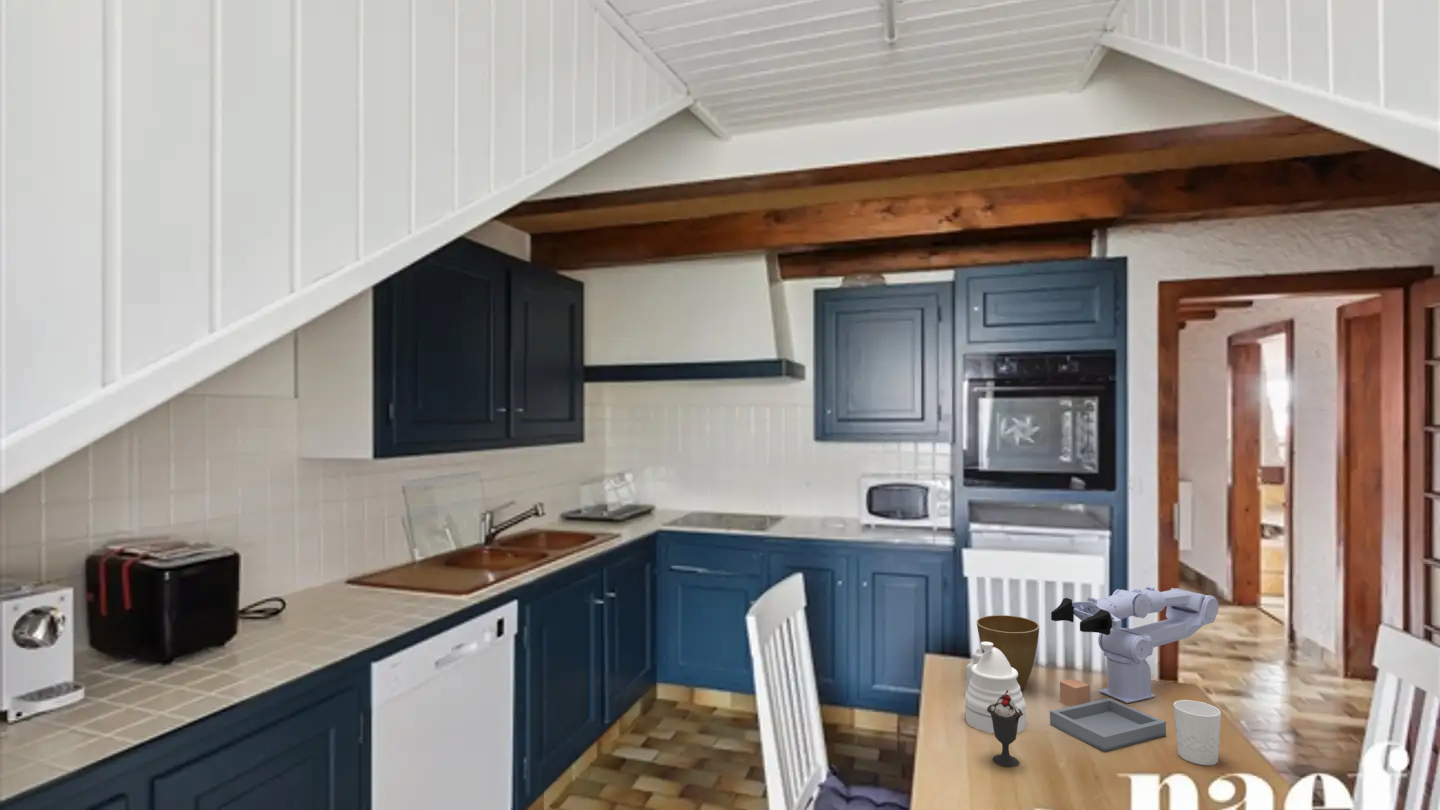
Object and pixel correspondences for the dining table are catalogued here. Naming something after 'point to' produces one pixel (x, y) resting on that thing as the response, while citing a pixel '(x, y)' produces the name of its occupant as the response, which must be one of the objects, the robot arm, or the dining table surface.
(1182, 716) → the white cup
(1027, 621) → the plant pot
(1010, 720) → the sundae
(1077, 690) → the block
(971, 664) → the eye dropper bottle
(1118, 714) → the tray
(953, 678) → the dining table surface
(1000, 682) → the honey pot
